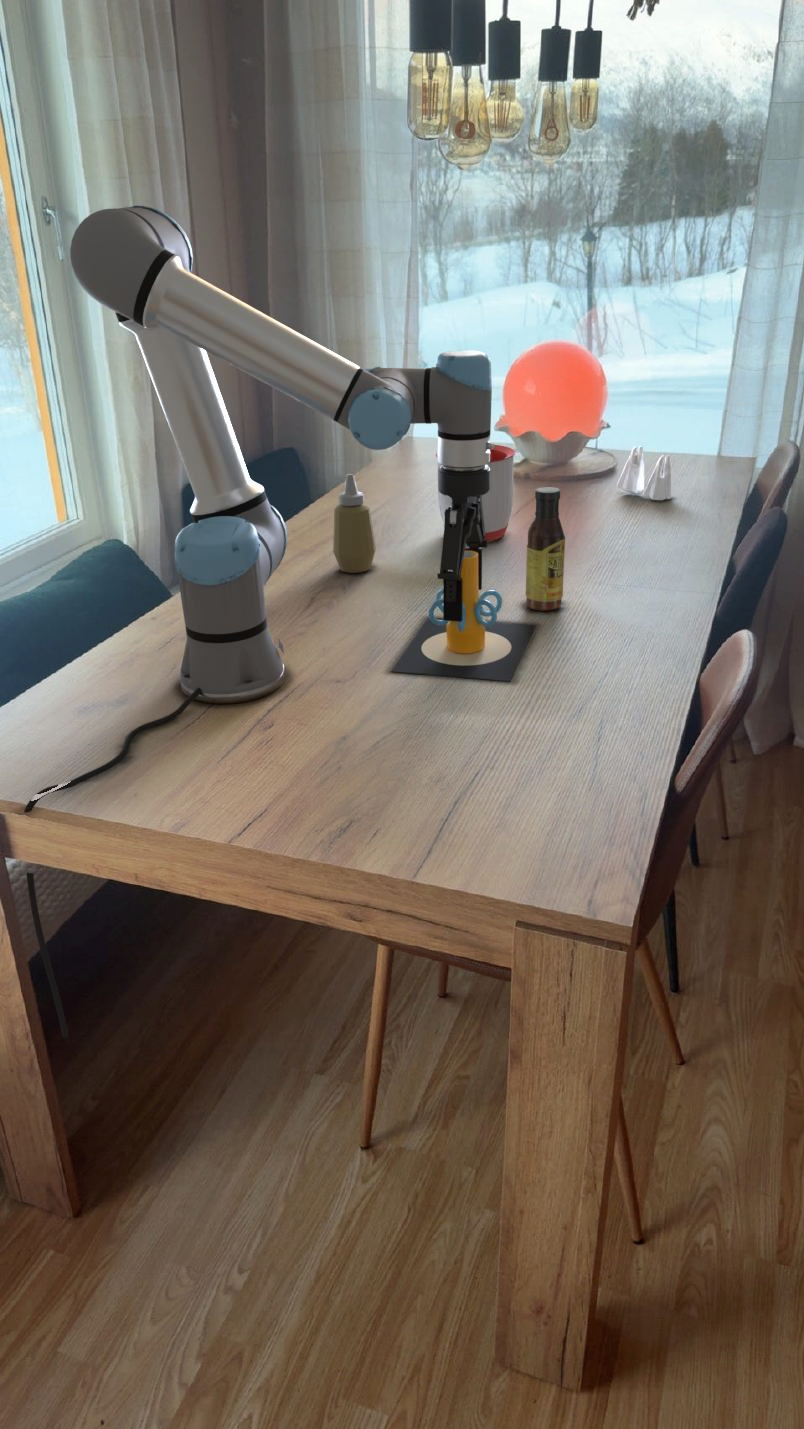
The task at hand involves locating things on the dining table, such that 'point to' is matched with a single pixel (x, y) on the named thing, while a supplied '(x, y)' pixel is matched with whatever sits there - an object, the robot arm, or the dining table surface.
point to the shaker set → (634, 477)
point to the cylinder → (468, 611)
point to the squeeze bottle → (353, 530)
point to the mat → (487, 664)
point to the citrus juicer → (493, 493)
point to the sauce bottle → (545, 553)
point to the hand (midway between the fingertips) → (463, 604)
